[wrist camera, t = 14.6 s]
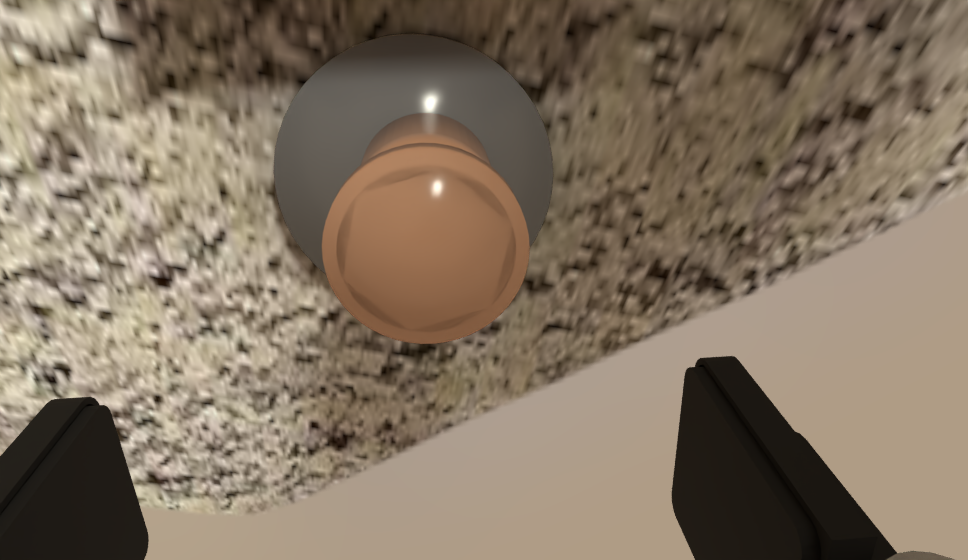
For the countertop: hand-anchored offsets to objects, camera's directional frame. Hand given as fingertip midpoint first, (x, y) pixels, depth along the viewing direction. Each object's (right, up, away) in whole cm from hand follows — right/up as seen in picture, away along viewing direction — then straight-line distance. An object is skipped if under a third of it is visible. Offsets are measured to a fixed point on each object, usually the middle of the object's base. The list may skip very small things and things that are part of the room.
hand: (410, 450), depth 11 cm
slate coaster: (-2, +7, +17) cm, 18 cm away
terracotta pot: (-1, +7, +16) cm, 17 cm away
